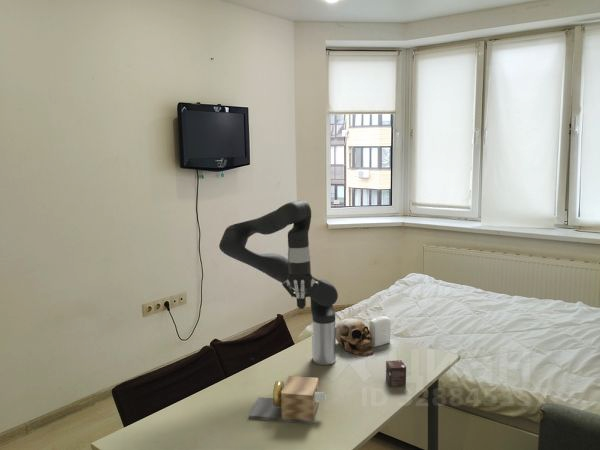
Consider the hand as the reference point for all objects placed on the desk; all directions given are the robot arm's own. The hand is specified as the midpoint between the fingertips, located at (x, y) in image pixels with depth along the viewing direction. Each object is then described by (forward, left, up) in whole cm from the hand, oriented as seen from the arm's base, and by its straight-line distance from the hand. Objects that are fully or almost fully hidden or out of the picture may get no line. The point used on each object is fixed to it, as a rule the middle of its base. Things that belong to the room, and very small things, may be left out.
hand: (301, 308), depth 166 cm
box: (+12, +32, -31) cm, 46 cm away
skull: (-22, +39, -31) cm, 54 cm away
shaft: (+12, -8, -29) cm, 32 cm away
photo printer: (-20, +50, -31) cm, 62 cm away
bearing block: (+8, -12, -31) cm, 34 cm away
